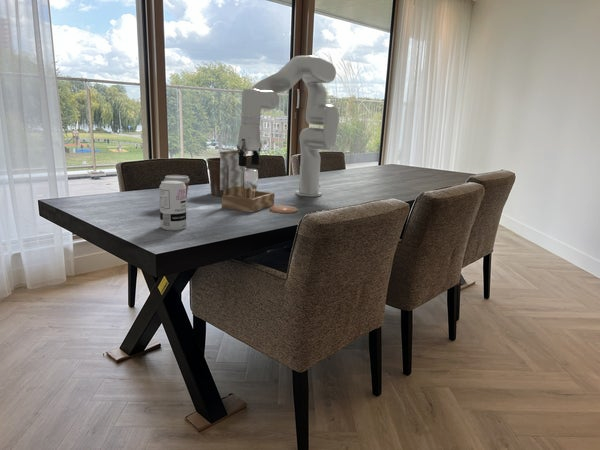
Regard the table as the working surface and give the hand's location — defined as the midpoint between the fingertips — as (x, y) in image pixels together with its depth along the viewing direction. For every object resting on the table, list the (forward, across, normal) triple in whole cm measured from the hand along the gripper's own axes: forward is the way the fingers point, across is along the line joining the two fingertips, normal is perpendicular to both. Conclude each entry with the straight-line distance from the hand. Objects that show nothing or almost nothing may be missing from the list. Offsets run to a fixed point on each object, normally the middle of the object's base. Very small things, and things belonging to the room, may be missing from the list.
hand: (248, 165), depth 180 cm
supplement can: (+18, +43, -2) cm, 47 cm away
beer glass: (+17, -1, 0) cm, 17 cm away
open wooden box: (+17, -1, 0) cm, 17 cm away
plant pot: (+17, -16, -22) cm, 32 cm away
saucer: (+17, -3, +15) cm, 23 cm away
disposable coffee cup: (+17, +18, -21) cm, 33 cm away
